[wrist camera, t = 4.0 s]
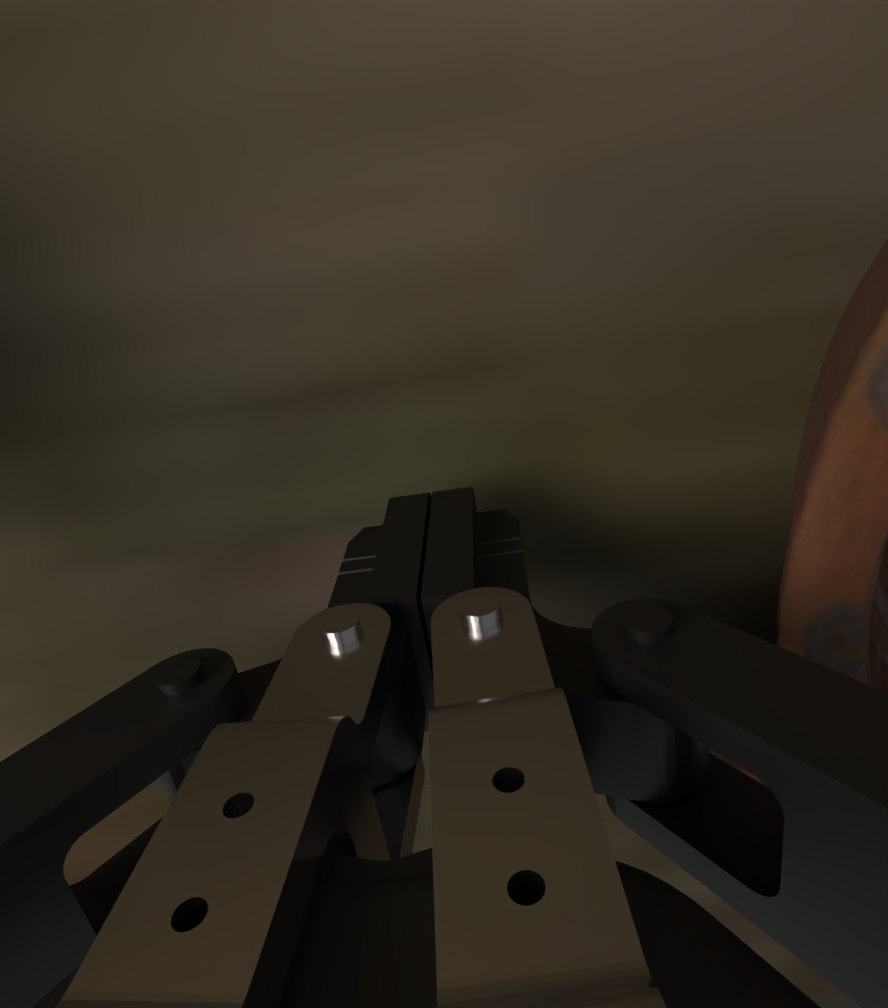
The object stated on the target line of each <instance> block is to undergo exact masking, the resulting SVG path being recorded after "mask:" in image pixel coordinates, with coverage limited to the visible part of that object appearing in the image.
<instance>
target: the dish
mask: <svg viewBox="0 0 888 1008" xmlns="http://www.w3.org/2000/svg"><path fill="white" fill-rule="evenodd" d="M775 645H777V646H779V647H782V648H784V649H786V650H789V651H791V652H793V653H796V654H798V655H800V656H803V657H805V658H807V659H810V660H812V661H814V662H817V663H819V664H821V665H824V666H826V667H828V668H830V669H833V670H835V671H837V672H840V673H842V674H844V675H847V676H849V677H851V678H854V679H856V680H858V681H861V682H863V683H865V684H868V685H870V686H872V687H875V688H877V689H879V690H882V691H884V692H886V693H888V239H887V241H886V243H885V244H884V246H883V247H882V249H881V250H880V252H879V254H878V255H877V257H876V258H875V260H874V262H873V263H872V265H871V266H870V268H869V269H868V271H867V273H866V274H865V276H864V277H863V279H862V281H861V282H860V284H859V285H858V287H857V288H856V290H855V292H854V294H853V296H852V298H851V300H850V302H849V304H848V306H847V308H846V310H845V312H844V314H843V316H842V318H841V321H840V323H839V325H838V327H837V329H836V331H835V333H834V335H833V337H832V340H831V342H830V344H829V347H828V350H827V353H826V356H825V359H824V362H823V365H822V368H821V371H820V374H819V377H818V380H817V383H816V386H815V389H814V392H813V395H812V399H811V403H810V407H809V411H808V415H807V419H806V423H805V428H804V432H803V436H802V442H801V448H800V453H799V459H798V465H797V477H796V489H795V502H794V515H793V522H792V526H791V531H790V536H789V541H788V546H787V551H786V556H785V561H784V567H783V573H782V578H781V585H780V591H779V599H778V610H777V642H776V643H775ZM710 753H711V754H713V755H714V756H716V757H718V758H719V759H721V760H723V761H724V762H726V763H728V764H729V765H731V766H733V767H734V768H736V769H738V770H739V771H741V772H743V773H744V774H746V775H748V776H749V777H751V778H753V779H754V780H756V781H758V782H759V783H761V784H763V785H764V786H766V787H768V786H767V785H766V784H765V783H764V782H763V781H761V780H760V779H759V778H758V777H756V776H755V775H753V774H752V773H750V772H749V771H747V770H745V769H744V768H742V767H740V766H738V765H737V764H735V763H733V762H732V761H730V760H728V759H727V758H725V757H723V756H722V755H720V754H718V753H717V752H715V751H713V750H712V749H710ZM768 788H769V787H768ZM769 789H770V788H769Z"/></svg>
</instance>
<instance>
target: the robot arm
mask: <svg viewBox="0 0 888 1008" xmlns="http://www.w3.org/2000/svg"><path fill="white" fill-rule="evenodd" d="M343 559H344V562H342V565H341V568H340V571H339V575H338V577H337V580H336V583H335V586H334V589H333V592H332V596H331V599H330V602H329V605H328V608H327V609H326V610H324V611H321V612H319V613H317V614H315V615H314V616H312V617H311V618H309V619H308V620H306V621H305V622H304V623H303V624H302V625H301V626H300V627H299V628H298V629H297V631H296V632H295V634H294V636H293V638H292V640H291V642H290V644H289V646H288V648H287V650H286V652H285V654H284V656H283V658H282V659H280V660H277V661H274V662H272V663H269V664H266V665H262V666H259V667H256V668H253V669H250V670H247V671H244V672H241V673H238V672H237V669H236V667H235V664H234V661H233V658H232V657H231V656H230V655H229V654H228V653H226V652H224V651H222V650H218V649H209V648H205V649H196V650H190V651H186V652H183V653H180V654H177V655H174V656H172V657H170V658H167V659H165V660H163V661H161V662H160V663H158V664H156V665H154V666H153V667H151V668H150V669H148V670H146V671H145V672H143V673H142V674H140V675H138V676H137V677H135V678H134V679H132V680H130V681H129V682H127V683H126V684H124V685H122V686H121V687H119V688H118V689H116V690H115V691H113V692H111V693H110V694H108V695H107V696H105V697H103V698H102V699H100V700H99V701H97V702H95V703H94V704H92V705H91V706H89V707H87V708H86V709H84V710H83V711H81V712H79V713H78V714H76V715H75V716H73V717H71V718H70V719H68V720H67V721H65V722H63V723H62V724H60V725H59V726H57V727H55V728H54V729H52V730H51V731H49V732H47V733H46V734H44V735H43V736H41V737H39V738H38V739H36V740H35V741H33V742H31V743H30V744H28V745H27V746H25V747H23V748H22V749H20V750H19V751H17V752H15V753H14V754H12V755H11V756H9V757H7V758H6V759H4V760H3V761H1V762H0V1008H820V1007H819V1006H818V1005H817V1004H816V1003H815V1002H813V1001H812V1000H811V999H810V998H809V997H807V996H806V995H805V994H804V993H803V992H802V991H800V990H799V989H798V988H797V987H796V986H795V985H793V984H792V983H791V982H790V981H789V980H787V979H786V978H785V977H784V976H783V975H782V974H780V973H779V972H778V971H777V970H776V969H774V968H773V967H772V966H771V965H770V964H769V963H767V962H766V961H765V960H764V959H763V958H762V957H760V956H759V955H758V954H757V953H756V952H754V951H753V950H752V949H751V948H750V947H749V946H747V945H746V944H745V943H744V942H743V941H742V940H740V939H739V938H738V937H737V936H736V935H734V934H733V933H732V932H731V931H730V930H729V929H727V928H726V927H725V926H724V925H723V924H721V923H720V922H719V921H718V920H717V919H716V918H714V917H713V916H712V915H711V914H710V913H708V912H707V911H706V910H705V909H703V908H702V907H701V906H700V905H698V904H697V903H696V902H695V901H693V900H692V899H691V898H689V897H688V896H686V895H685V894H683V893H682V892H680V891H679V890H677V889H676V888H674V887H673V886H671V885H670V884H668V883H666V882H664V881H662V880H660V879H659V878H657V877H655V876H653V875H651V874H649V873H647V872H645V871H642V870H640V869H637V868H635V867H632V866H629V865H627V864H624V863H621V862H617V861H615V859H614V856H613V852H612V849H611V846H610V842H609V839H608V836H607V832H606V829H605V826H604V823H603V819H602V816H601V813H600V809H599V806H598V803H597V799H596V796H595V793H598V794H603V795H606V799H607V803H608V805H609V807H610V809H611V811H612V812H613V813H614V814H615V816H616V817H617V818H618V819H620V820H621V821H622V822H623V823H624V824H625V825H627V826H628V827H629V828H631V829H632V830H633V831H635V832H636V833H637V834H638V835H640V836H641V837H642V838H644V839H645V840H646V841H648V842H649V843H650V844H651V845H653V846H654V847H655V848H657V849H658V850H659V851H660V852H662V853H663V854H664V855H666V856H667V857H668V858H670V859H671V860H672V861H673V862H675V863H676V864H677V865H679V866H680V867H681V868H683V869H684V870H685V871H686V872H688V873H689V874H690V875H692V876H693V877H694V878H696V879H697V880H698V881H699V882H701V883H702V884H703V885H705V886H706V887H707V888H709V889H710V890H711V891H712V892H714V893H715V894H716V895H718V896H719V897H720V898H722V899H723V900H724V901H725V902H727V903H728V904H729V905H731V906H732V907H733V908H734V909H736V910H737V911H738V912H740V913H741V914H742V915H744V916H745V917H746V918H747V919H749V920H750V921H751V922H753V923H754V924H755V925H757V926H758V927H759V928H760V929H762V930H763V931H764V932H766V933H767V934H768V935H770V936H771V937H772V938H773V939H775V940H776V941H777V942H779V943H780V944H781V945H783V946H784V947H785V948H786V949H788V950H789V951H790V952H792V953H793V954H794V955H795V956H797V957H798V958H799V959H801V960H802V961H803V962H805V963H806V964H807V965H808V966H810V967H811V968H812V969H814V970H815V971H816V972H818V973H819V974H820V975H821V976H823V977H824V978H825V979H827V980H828V981H829V982H831V983H832V984H833V985H834V986H836V987H837V988H838V989H840V990H841V991H842V992H844V993H845V994H846V995H847V996H849V997H850V998H851V999H853V1000H854V1001H855V1002H856V1003H858V1004H859V1005H860V1006H862V1007H863V1008H888V693H886V692H884V691H882V690H879V689H877V688H875V687H872V686H870V685H868V684H865V683H863V682H861V681H858V680H856V679H854V678H851V677H849V676H847V675H844V674H842V673H840V672H837V671H835V670H833V669H830V668H828V667H826V666H824V665H821V664H819V663H817V662H814V661H812V660H810V659H807V658H805V657H803V656H800V655H798V654H796V653H793V652H791V651H789V650H786V649H784V648H782V647H779V646H777V645H775V644H772V643H770V642H768V641H765V640H763V639H761V638H758V637H756V636H754V635H751V634H749V633H747V632H744V631H742V630H740V629H737V628H735V627H733V626H730V625H728V624H726V623H723V622H721V621H719V620H717V619H714V618H712V617H710V616H707V615H705V614H703V613H700V612H698V611H696V610H693V609H691V608H689V607H686V606H684V605H681V604H678V603H676V602H671V601H667V600H661V599H635V600H629V601H625V602H621V603H618V604H615V605H613V606H611V607H609V608H607V609H605V610H604V611H603V612H602V613H600V614H599V615H598V616H597V618H596V619H595V621H594V622H593V625H592V629H587V628H577V627H570V626H565V625H561V624H558V623H555V622H552V621H550V620H548V619H546V618H544V617H543V616H542V615H540V614H539V613H538V612H537V611H536V610H535V609H534V607H533V606H532V604H531V601H530V596H529V589H528V582H527V575H526V568H525V562H524V555H523V548H522V541H521V534H520V528H519V521H518V520H517V519H516V518H515V517H513V516H512V515H511V514H510V513H509V512H507V511H506V510H505V509H502V510H495V511H487V512H479V513H477V508H476V502H475V496H474V491H473V487H467V488H459V489H452V490H444V491H437V492H433V493H432V496H431V494H430V493H423V494H415V495H408V496H400V497H393V498H390V499H389V502H388V507H387V511H386V515H385V519H384V523H383V525H381V526H373V527H365V528H363V529H362V530H361V531H360V532H359V533H358V534H357V535H356V536H355V537H354V538H353V539H352V540H351V541H350V542H349V543H348V546H347V549H346V552H345V555H344V558H343ZM424 731H428V736H429V765H430V795H431V825H432V848H430V849H426V850H423V851H420V852H417V853H414V854H412V850H413V844H414V838H415V832H416V825H417V819H418V813H419V807H420V801H421V795H422V789H423V783H424V777H425V769H424V764H423V759H422V755H421V752H422V747H423V737H424ZM709 748H710V749H712V750H713V751H715V752H717V753H718V754H720V755H722V756H723V757H725V758H727V759H728V760H730V761H732V762H733V763H735V764H737V765H738V766H740V767H742V768H744V769H745V770H747V771H749V772H750V773H752V774H753V775H755V776H756V777H758V778H759V779H760V780H761V781H763V782H764V783H765V784H766V785H767V786H768V787H769V788H770V789H769V788H768V787H766V786H764V785H763V784H761V783H759V782H758V781H756V780H754V779H753V778H751V777H749V776H748V775H746V774H744V773H743V772H741V771H739V770H738V769H736V768H734V767H733V766H731V765H729V764H728V763H726V762H724V761H723V760H721V759H719V758H718V757H716V756H714V755H713V754H711V753H709ZM159 777H161V779H162V782H163V784H164V786H165V789H166V791H167V793H168V795H169V798H170V800H171V804H170V805H169V807H168V809H167V811H166V813H165V814H164V816H163V817H162V818H161V819H160V820H159V821H157V822H156V823H155V824H153V825H152V826H151V827H150V828H148V829H147V830H146V831H145V832H143V833H142V834H141V835H139V836H138V837H137V838H136V839H134V840H133V841H132V842H131V843H129V844H128V845H127V846H126V847H124V848H123V849H122V850H120V851H119V852H118V853H117V854H115V855H114V856H113V857H112V858H110V859H109V860H108V861H107V862H105V863H104V864H103V865H101V866H100V867H99V868H98V869H96V870H95V871H94V872H93V873H91V874H90V875H89V876H88V877H86V878H85V879H83V880H82V881H80V882H78V883H75V884H73V885H68V883H67V882H66V880H65V878H64V874H63V864H64V860H65V858H66V855H67V853H68V851H69V850H70V848H71V846H72V845H73V844H74V842H75V841H76V840H77V839H78V838H79V837H80V836H81V835H83V834H84V833H85V832H86V831H88V830H89V829H90V828H92V827H93V826H94V825H96V824H97V823H98V822H100V821H101V820H102V819H104V818H105V817H106V816H108V815H109V814H110V813H112V812H113V811H114V810H116V809H117V808H118V807H120V806H121V805H122V804H124V803H125V802H127V801H128V800H129V799H131V798H132V797H133V796H135V795H136V794H137V793H139V792H140V791H141V790H143V789H144V788H145V787H147V786H148V785H149V784H151V783H152V782H153V781H155V780H156V779H157V778H159Z"/></svg>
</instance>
